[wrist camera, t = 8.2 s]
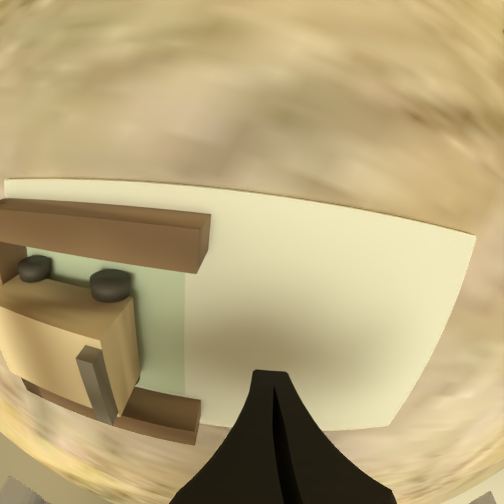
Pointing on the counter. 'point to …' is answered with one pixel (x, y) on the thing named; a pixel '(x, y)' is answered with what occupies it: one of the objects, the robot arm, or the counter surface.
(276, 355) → the dock board
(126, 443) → the counter surface
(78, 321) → the tan box with knobs
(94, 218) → the bay
